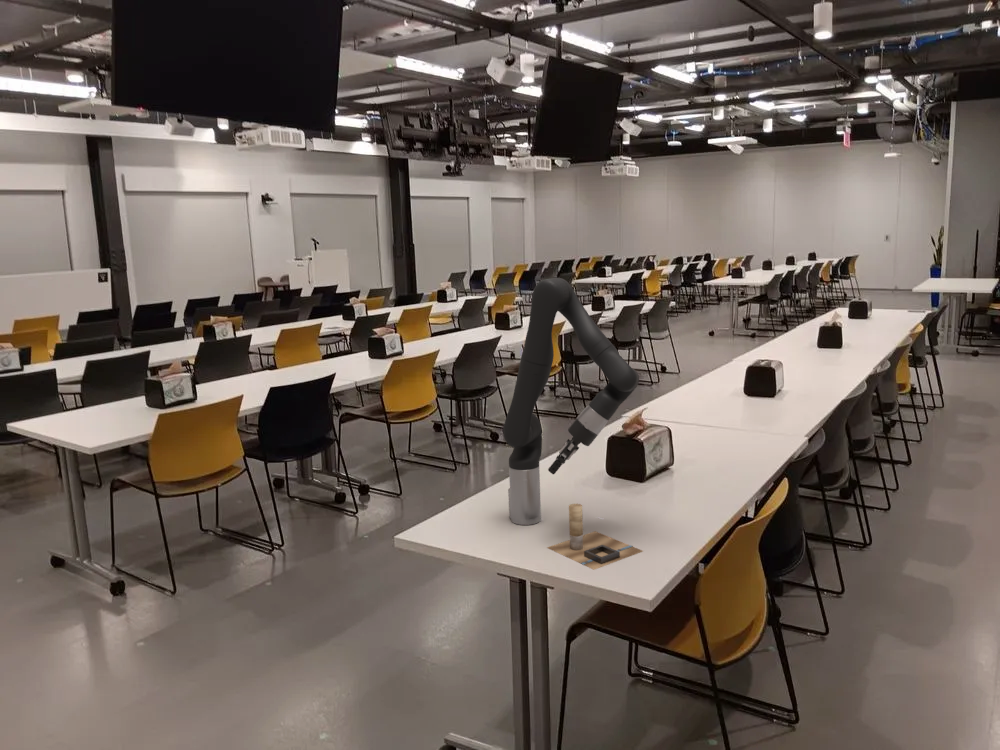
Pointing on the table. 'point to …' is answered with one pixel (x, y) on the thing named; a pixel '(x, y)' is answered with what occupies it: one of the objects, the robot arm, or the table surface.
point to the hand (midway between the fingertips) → (552, 470)
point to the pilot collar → (611, 556)
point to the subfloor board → (591, 542)
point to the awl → (576, 526)
